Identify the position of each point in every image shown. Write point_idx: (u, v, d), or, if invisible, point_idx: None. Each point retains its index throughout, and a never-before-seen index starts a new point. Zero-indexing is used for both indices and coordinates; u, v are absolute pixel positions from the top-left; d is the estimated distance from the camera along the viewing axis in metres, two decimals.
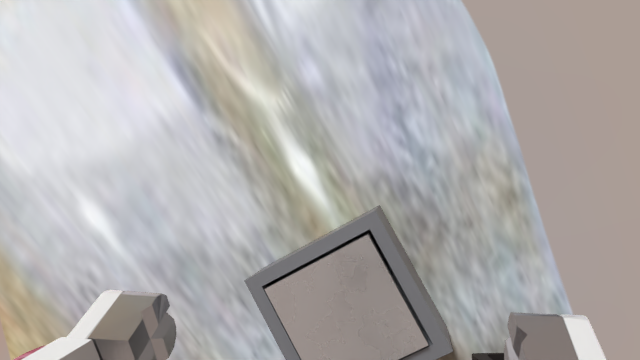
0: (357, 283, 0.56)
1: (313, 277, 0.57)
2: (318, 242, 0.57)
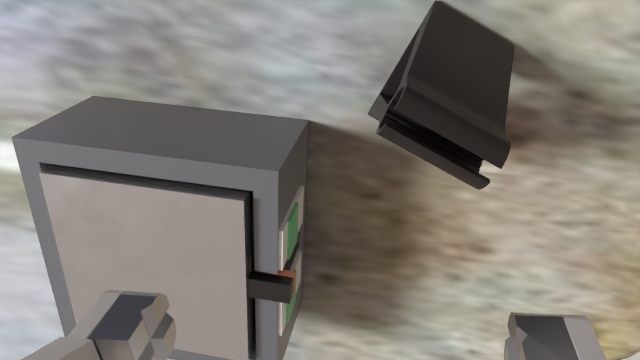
0: (108, 230, 0.33)
1: (80, 273, 0.35)
2: (39, 235, 0.35)
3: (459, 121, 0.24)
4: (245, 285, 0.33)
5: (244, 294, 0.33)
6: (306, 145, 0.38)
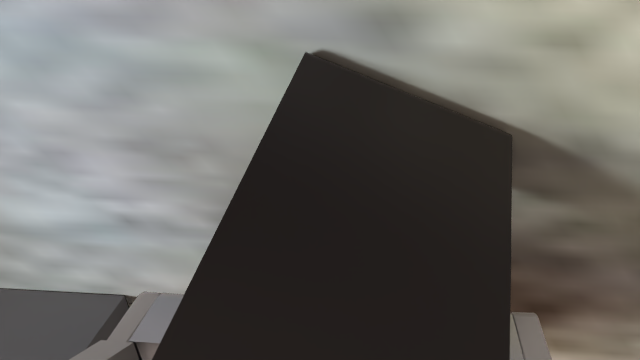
0: None
1: None
2: None
3: None
4: None
5: None
6: None
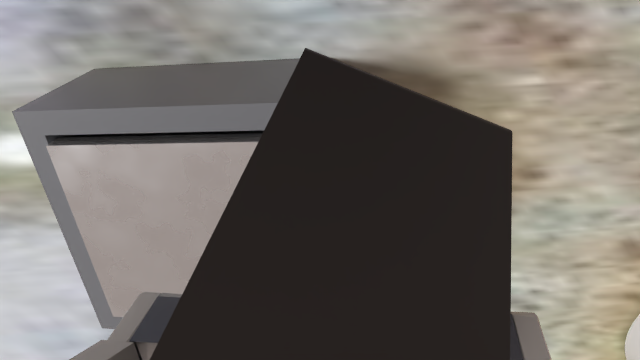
0: (128, 199, 0.31)
1: (106, 252, 0.33)
2: (58, 217, 0.33)
3: None
4: None
5: None
6: None
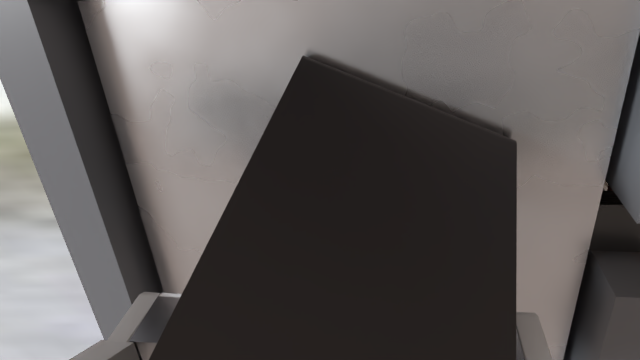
0: (253, 130, 0.14)
1: (188, 245, 0.17)
2: (56, 206, 0.15)
3: None
4: (592, 221, 0.14)
5: (584, 244, 0.14)
6: None
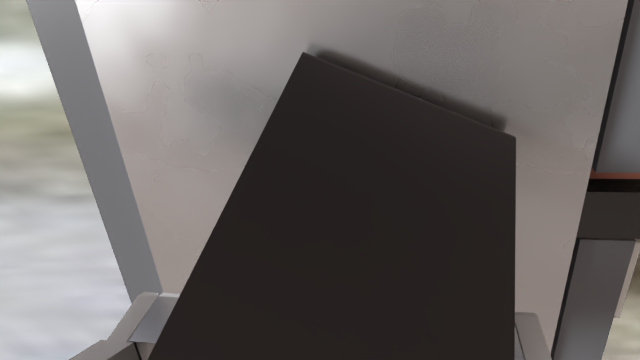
0: (247, 120, 0.14)
1: (184, 236, 0.17)
2: (88, 167, 0.17)
3: None
4: (579, 208, 0.14)
5: (572, 231, 0.14)
6: None
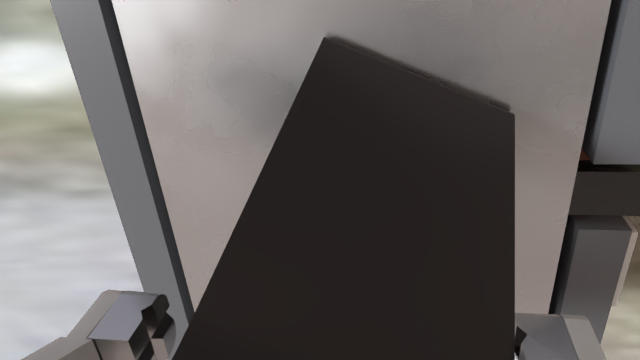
0: (266, 105, 0.16)
1: (204, 214, 0.18)
2: (105, 159, 0.17)
3: None
4: (571, 187, 0.15)
5: (564, 208, 0.16)
6: None
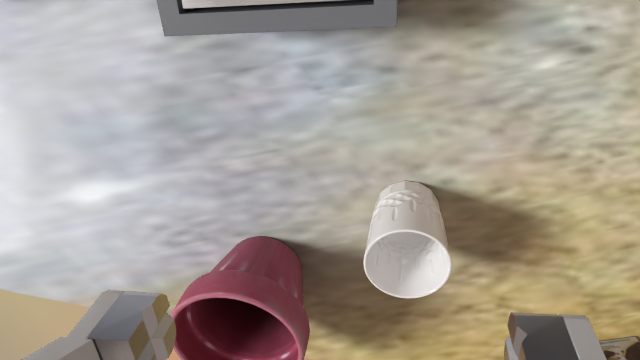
0: None
1: None
2: None
3: None
4: None
5: None
6: None
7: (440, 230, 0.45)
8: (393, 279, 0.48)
